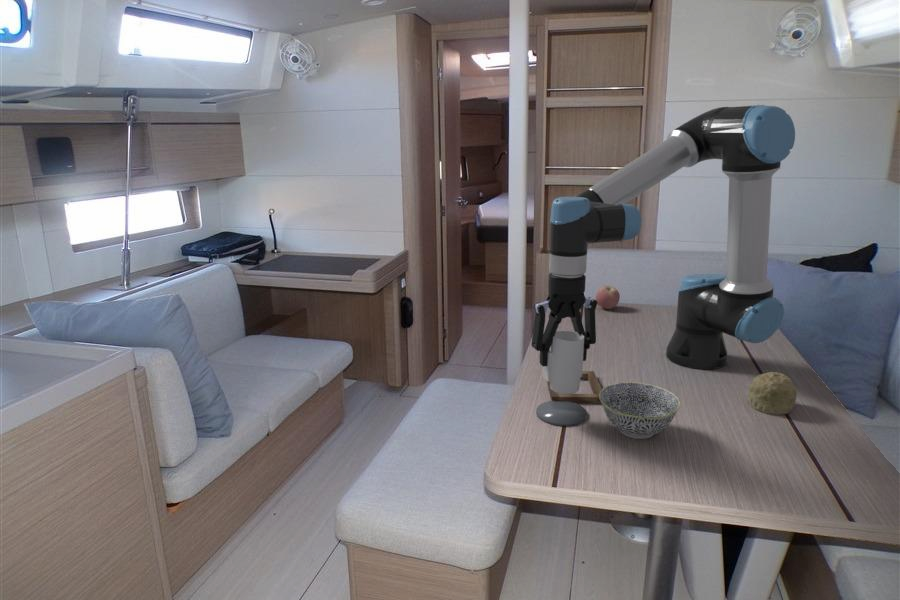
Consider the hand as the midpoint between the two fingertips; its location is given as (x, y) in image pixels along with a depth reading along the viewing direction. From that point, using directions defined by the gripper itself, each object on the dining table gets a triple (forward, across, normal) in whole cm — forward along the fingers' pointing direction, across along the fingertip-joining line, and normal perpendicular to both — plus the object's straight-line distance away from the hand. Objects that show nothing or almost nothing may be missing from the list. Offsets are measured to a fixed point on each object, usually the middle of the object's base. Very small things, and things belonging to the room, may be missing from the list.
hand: (562, 376), depth 129 cm
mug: (+2, 0, 0) cm, 2 cm away
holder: (+9, -9, -11) cm, 17 cm away
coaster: (+9, 0, 0) cm, 9 cm away
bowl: (+9, -11, +12) cm, 19 cm away
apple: (+9, -50, -65) cm, 83 cm away
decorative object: (+9, -46, +11) cm, 48 cm away
